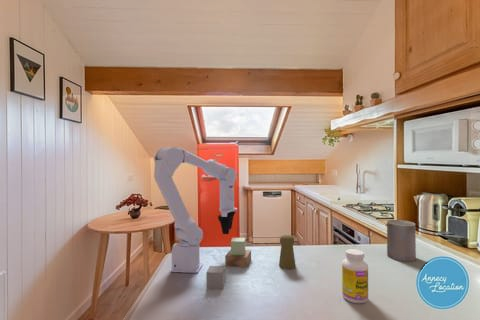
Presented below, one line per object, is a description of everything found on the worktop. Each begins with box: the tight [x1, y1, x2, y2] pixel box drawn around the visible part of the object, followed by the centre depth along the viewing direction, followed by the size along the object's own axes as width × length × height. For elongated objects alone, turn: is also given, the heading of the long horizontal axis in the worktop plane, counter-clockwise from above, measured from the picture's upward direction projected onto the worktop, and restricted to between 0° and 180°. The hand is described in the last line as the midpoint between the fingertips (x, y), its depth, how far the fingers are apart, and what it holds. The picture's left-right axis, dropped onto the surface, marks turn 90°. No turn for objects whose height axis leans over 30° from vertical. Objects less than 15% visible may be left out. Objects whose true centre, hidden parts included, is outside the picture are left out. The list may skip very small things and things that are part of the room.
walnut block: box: [224, 249, 252, 269], centre depth 103 cm, size 8×8×4 cm
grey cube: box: [205, 265, 226, 290], centre depth 84 cm, size 5×5×5 cm
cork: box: [278, 234, 297, 270], centre depth 99 cm, size 6×6×11 cm
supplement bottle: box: [341, 248, 369, 304], centre depth 75 cm, size 7×7×13 cm
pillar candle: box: [386, 218, 417, 263], centre depth 106 cm, size 10×10×15 cm
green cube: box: [230, 237, 246, 255], centre depth 103 cm, size 5×5×5 cm
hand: (227, 231), depth 108 cm, fingers open, 7 cm apart
